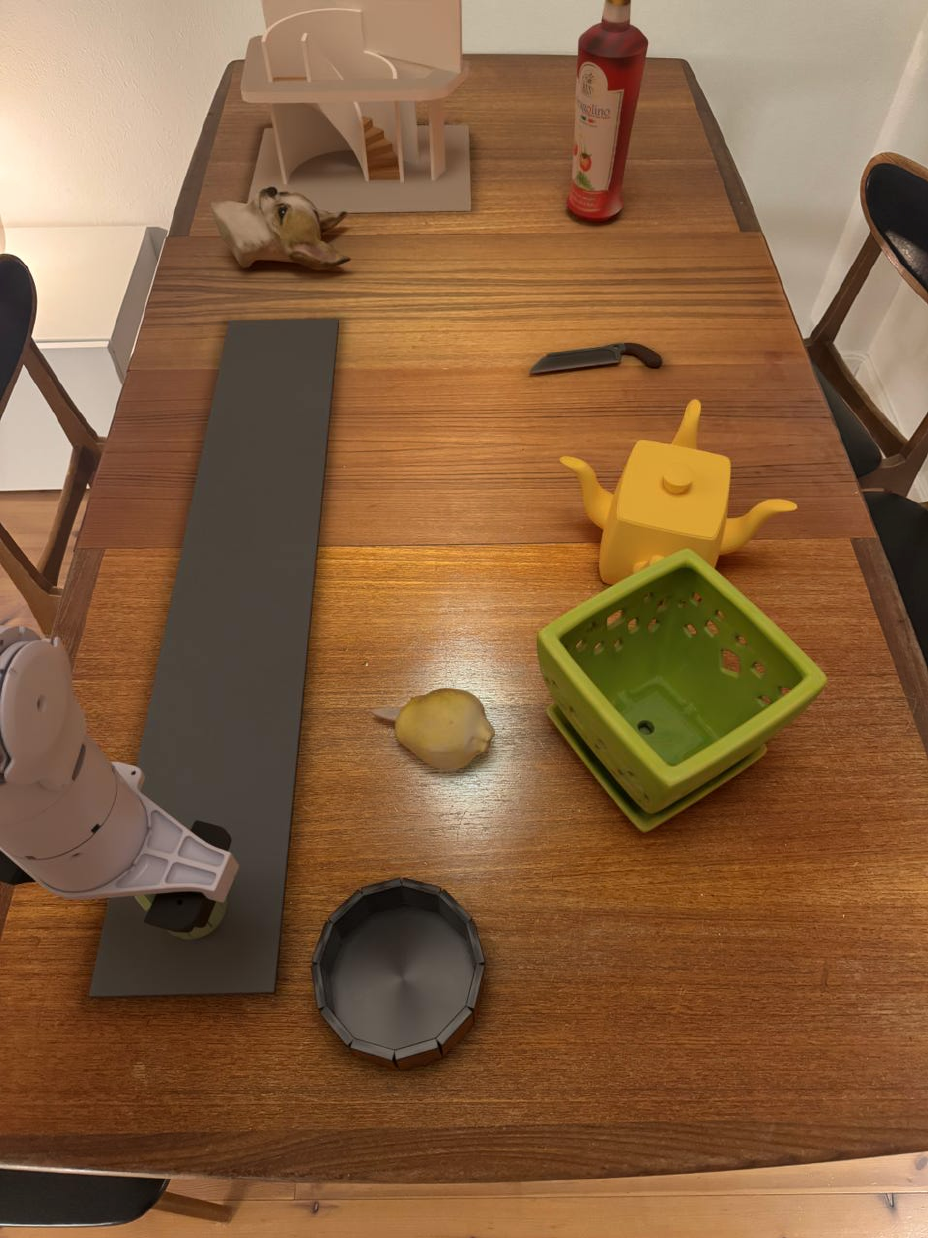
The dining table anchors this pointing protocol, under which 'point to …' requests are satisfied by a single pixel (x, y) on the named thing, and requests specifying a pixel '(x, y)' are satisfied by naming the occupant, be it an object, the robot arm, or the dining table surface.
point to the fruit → (442, 727)
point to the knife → (595, 357)
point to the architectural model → (360, 104)
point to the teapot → (668, 505)
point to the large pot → (399, 973)
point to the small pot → (196, 933)
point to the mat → (236, 660)
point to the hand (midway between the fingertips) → (146, 892)
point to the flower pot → (671, 685)
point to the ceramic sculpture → (278, 230)
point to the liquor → (605, 110)
